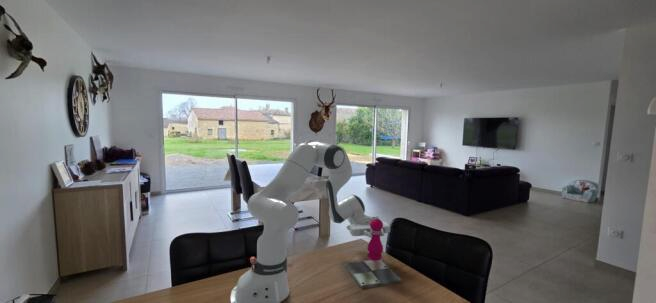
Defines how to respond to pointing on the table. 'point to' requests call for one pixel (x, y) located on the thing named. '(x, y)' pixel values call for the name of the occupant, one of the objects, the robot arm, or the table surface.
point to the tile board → (372, 273)
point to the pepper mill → (375, 240)
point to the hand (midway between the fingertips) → (377, 235)
